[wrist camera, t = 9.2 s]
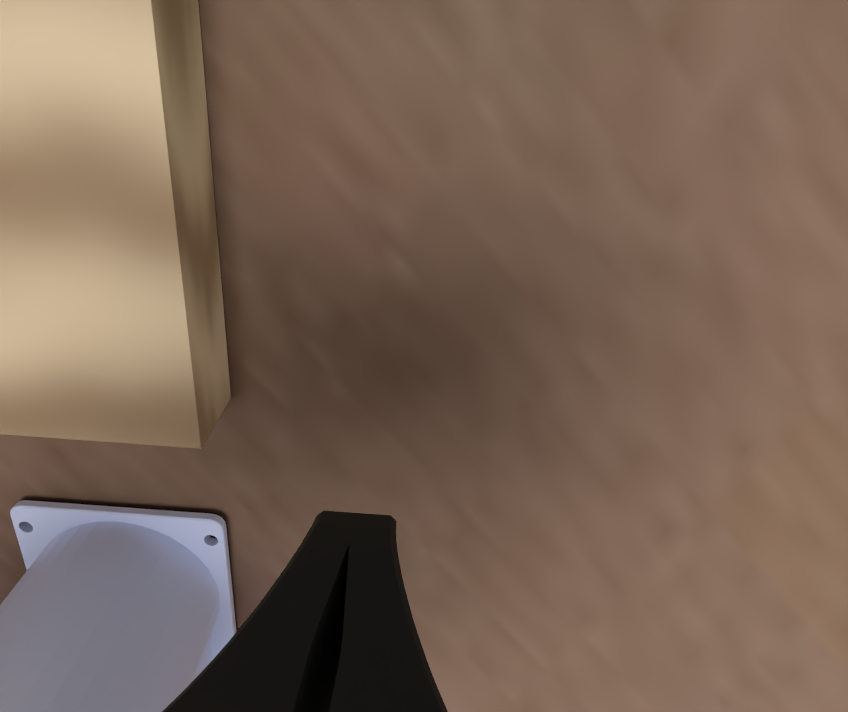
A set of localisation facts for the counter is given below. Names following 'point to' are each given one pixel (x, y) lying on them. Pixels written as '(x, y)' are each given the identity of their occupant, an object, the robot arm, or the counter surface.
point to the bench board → (108, 225)
